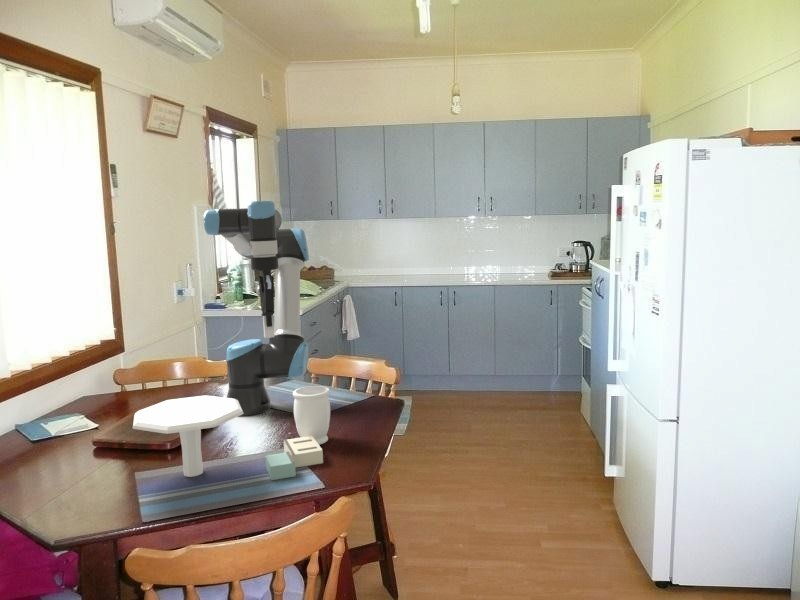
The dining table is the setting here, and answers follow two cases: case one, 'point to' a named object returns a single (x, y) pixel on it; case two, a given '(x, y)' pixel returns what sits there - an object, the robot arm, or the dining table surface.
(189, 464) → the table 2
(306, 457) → the cream slotted block
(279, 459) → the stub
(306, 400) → the jar
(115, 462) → the dining table surface
